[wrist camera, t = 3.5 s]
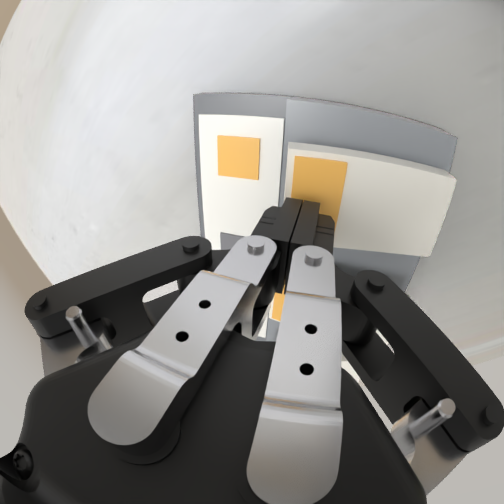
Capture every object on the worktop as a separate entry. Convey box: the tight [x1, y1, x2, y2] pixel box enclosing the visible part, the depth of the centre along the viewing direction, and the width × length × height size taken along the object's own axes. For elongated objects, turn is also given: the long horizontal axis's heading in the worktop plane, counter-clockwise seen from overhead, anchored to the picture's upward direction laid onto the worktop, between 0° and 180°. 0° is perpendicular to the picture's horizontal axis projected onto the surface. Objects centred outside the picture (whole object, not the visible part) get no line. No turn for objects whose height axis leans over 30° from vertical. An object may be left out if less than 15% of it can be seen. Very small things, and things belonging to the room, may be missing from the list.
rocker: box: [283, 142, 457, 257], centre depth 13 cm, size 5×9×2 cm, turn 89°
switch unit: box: [193, 93, 458, 341], centre depth 22 cm, size 25×17×4 cm
